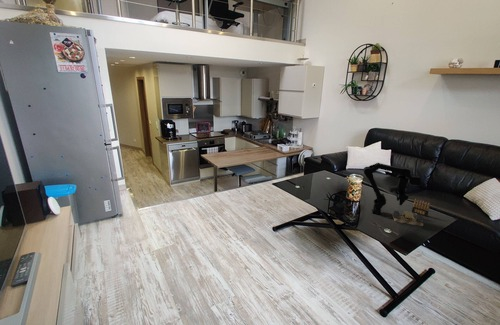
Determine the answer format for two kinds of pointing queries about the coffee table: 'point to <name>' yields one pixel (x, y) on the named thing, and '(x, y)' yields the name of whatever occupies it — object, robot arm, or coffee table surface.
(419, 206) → the ammunition clip
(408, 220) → the shaft stand
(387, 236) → the pliers
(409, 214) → the block
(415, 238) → the coffee table surface
